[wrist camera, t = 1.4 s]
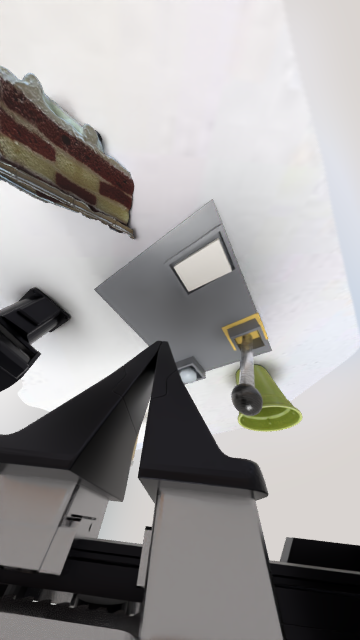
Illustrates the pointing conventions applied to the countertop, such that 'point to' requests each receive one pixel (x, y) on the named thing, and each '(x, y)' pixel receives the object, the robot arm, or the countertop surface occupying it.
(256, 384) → the plant pot
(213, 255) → the rocker switch
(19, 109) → the chocolate cake
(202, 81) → the countertop surface
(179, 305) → the switch panel
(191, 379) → the push button
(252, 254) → the countertop surface
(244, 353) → the toggle lever
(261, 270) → the countertop surface
